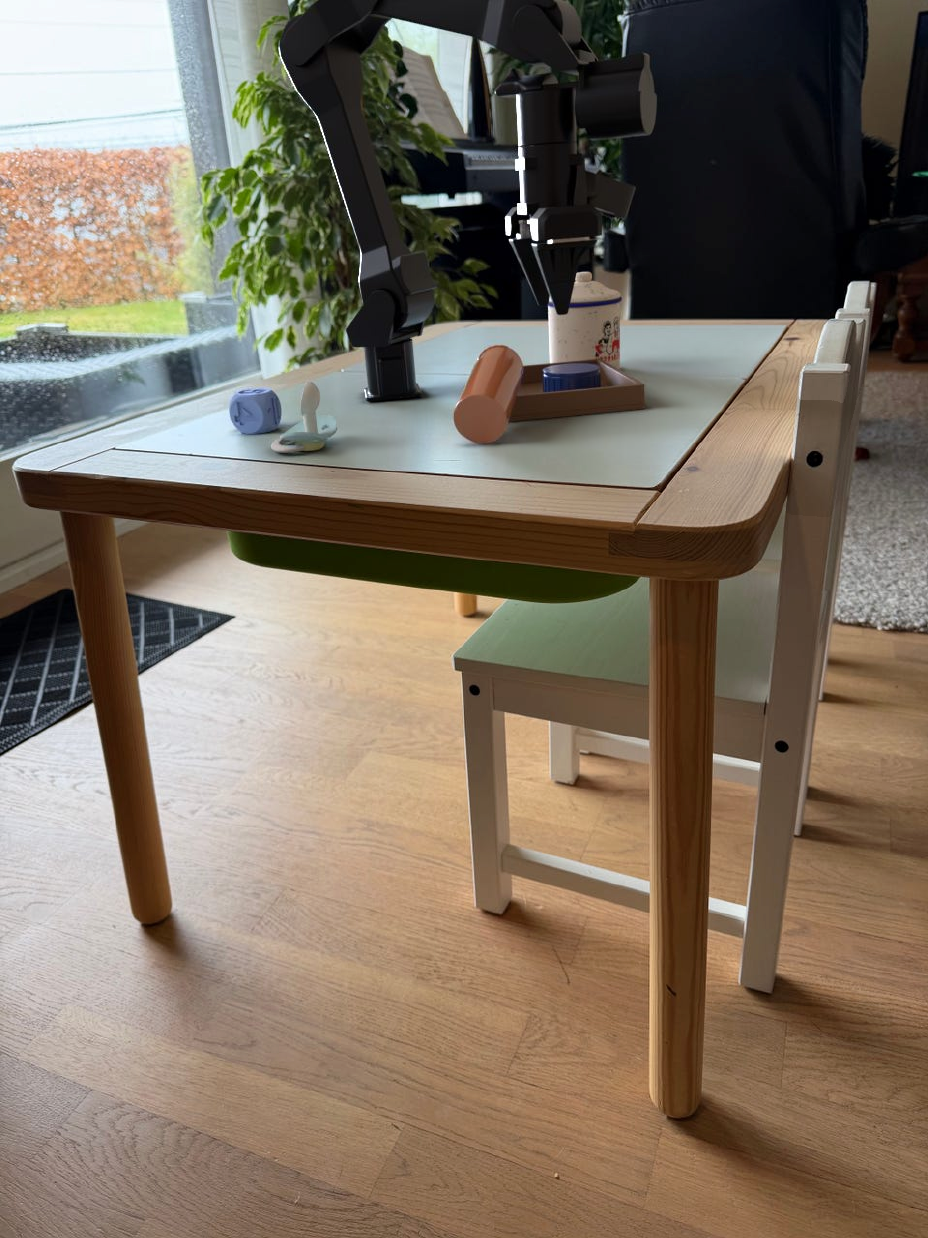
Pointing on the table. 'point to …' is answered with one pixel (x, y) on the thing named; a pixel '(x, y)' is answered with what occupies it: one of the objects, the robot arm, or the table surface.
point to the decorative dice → (255, 410)
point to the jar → (489, 395)
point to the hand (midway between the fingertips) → (552, 309)
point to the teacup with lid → (587, 324)
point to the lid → (571, 377)
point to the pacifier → (307, 425)
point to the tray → (576, 394)
